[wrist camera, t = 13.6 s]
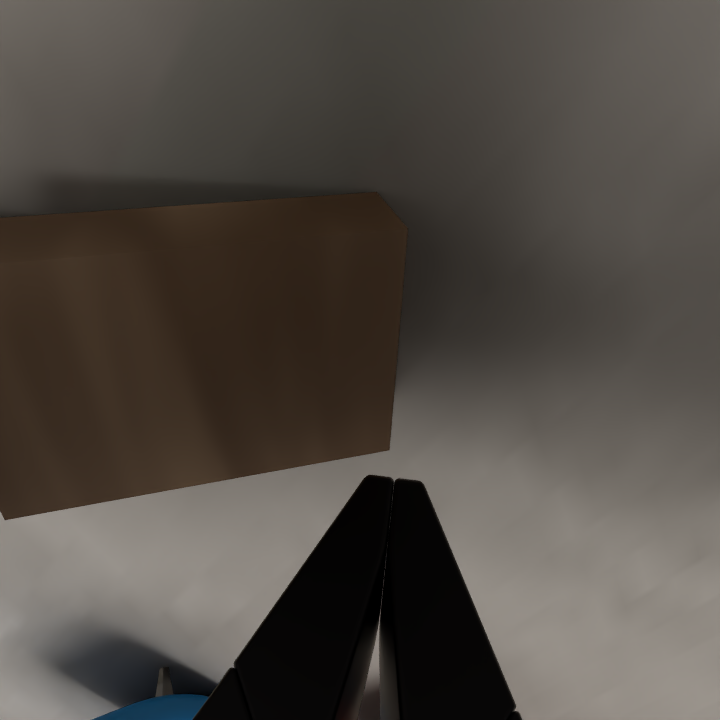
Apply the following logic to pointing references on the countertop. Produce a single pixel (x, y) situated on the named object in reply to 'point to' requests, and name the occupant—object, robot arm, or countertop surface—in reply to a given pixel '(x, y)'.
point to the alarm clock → (160, 704)
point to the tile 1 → (193, 344)
